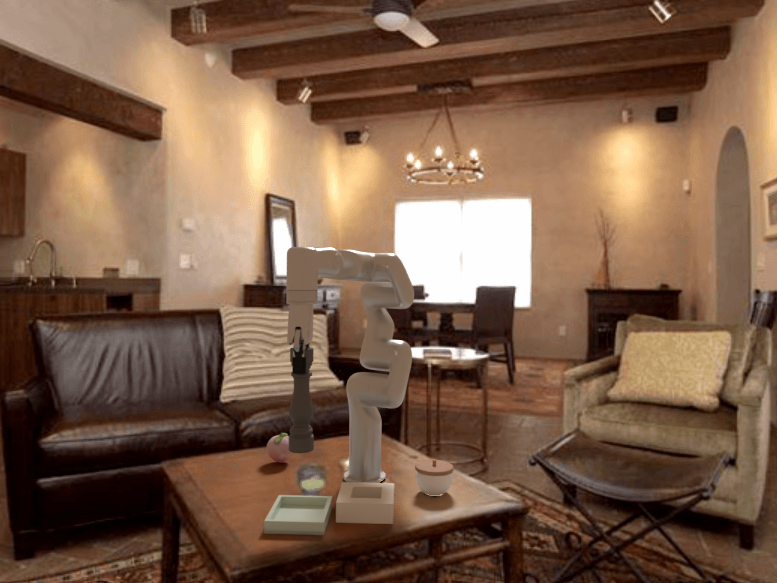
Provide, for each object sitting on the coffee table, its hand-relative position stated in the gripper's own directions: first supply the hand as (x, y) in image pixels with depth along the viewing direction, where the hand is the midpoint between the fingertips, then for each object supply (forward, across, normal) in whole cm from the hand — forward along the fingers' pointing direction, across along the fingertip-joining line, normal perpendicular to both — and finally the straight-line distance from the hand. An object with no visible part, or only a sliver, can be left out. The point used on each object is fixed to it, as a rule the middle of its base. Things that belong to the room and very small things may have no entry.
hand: (301, 370), depth 144 cm
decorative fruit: (+37, -42, -14) cm, 58 cm away
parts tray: (+37, 0, 0) cm, 37 cm away
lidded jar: (+37, -20, +34) cm, 54 cm away
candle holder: (+20, 0, 0) cm, 20 cm away
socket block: (+37, -6, +16) cm, 41 cm away
